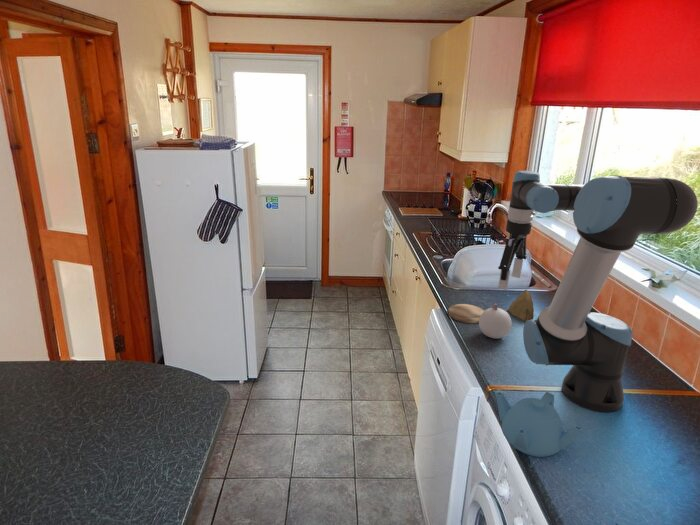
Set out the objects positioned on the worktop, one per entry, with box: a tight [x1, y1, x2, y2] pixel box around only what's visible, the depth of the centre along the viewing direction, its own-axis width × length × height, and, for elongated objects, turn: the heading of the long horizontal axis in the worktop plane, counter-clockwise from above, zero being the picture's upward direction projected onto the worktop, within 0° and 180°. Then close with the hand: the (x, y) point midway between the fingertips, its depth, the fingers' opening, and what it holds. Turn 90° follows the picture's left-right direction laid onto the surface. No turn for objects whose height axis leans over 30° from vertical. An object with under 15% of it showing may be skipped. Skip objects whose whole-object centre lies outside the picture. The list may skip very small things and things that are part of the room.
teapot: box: [495, 391, 583, 458], centre depth 109 cm, size 15×15×11 cm
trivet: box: [447, 303, 485, 324], centre depth 174 cm, size 14×14×1 cm
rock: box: [507, 289, 535, 323], centre depth 173 cm, size 11×9×10 cm
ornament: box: [478, 303, 513, 339], centre depth 157 cm, size 10×10×12 cm
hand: (509, 282), depth 154 cm, fingers open, 13 cm apart
